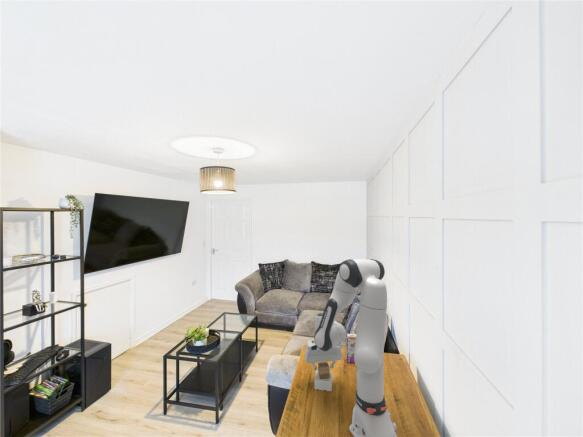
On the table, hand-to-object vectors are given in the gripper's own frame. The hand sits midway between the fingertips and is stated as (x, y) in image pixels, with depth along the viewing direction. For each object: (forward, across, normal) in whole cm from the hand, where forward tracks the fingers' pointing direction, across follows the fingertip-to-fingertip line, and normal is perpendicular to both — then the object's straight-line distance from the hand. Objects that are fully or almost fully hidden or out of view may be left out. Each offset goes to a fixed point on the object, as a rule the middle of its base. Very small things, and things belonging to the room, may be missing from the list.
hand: (323, 368), depth 133 cm
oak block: (+4, 0, 0) cm, 4 cm away
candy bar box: (+9, -26, -18) cm, 33 cm away
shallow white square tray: (+9, 0, 0) cm, 9 cm away
